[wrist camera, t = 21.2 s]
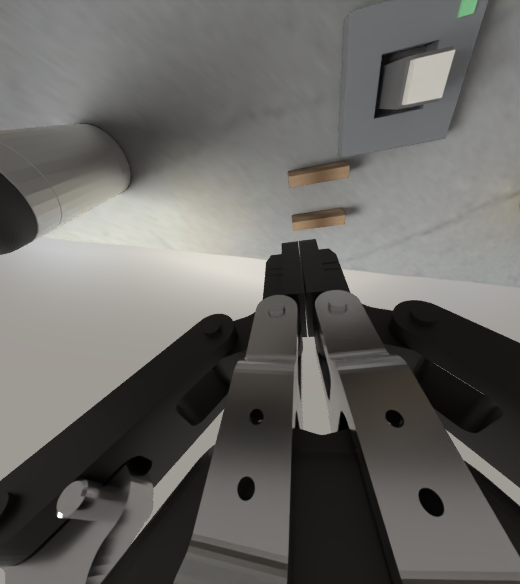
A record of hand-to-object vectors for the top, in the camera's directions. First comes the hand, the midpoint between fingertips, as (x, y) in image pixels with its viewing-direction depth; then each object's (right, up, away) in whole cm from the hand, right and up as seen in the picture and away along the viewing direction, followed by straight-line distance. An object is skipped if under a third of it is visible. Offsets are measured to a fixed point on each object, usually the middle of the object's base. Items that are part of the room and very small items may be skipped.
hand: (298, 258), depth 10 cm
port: (+14, +23, +15) cm, 30 cm away
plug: (+14, +23, +15) cm, 30 cm away
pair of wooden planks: (+7, +14, +23) cm, 28 cm away
